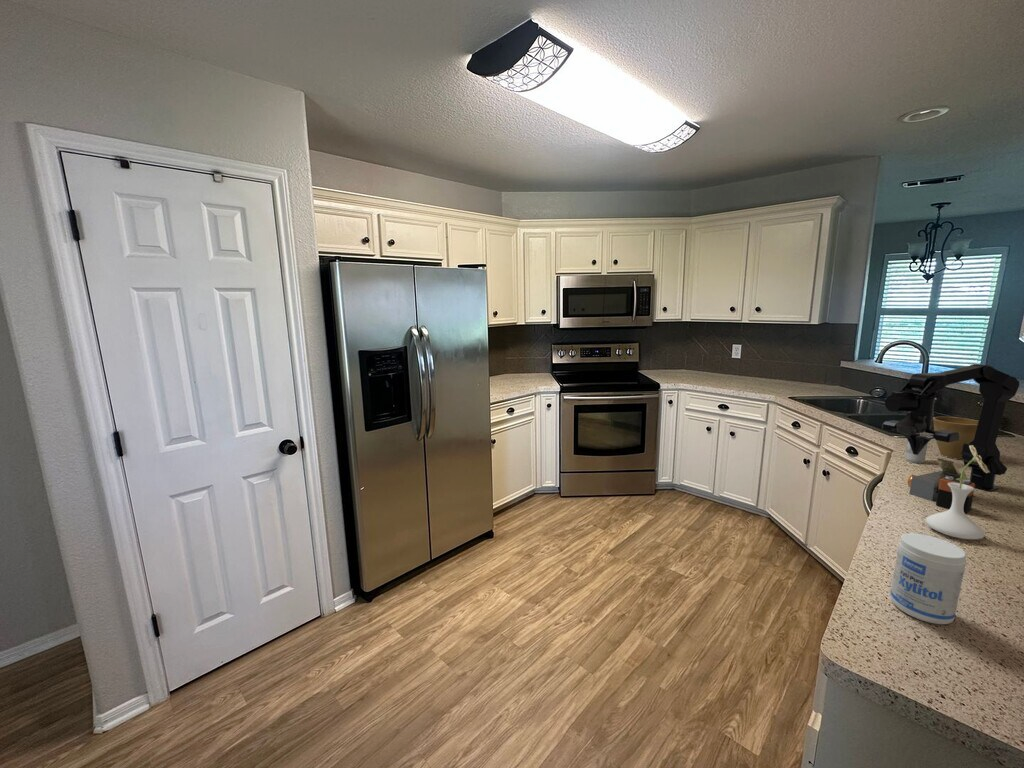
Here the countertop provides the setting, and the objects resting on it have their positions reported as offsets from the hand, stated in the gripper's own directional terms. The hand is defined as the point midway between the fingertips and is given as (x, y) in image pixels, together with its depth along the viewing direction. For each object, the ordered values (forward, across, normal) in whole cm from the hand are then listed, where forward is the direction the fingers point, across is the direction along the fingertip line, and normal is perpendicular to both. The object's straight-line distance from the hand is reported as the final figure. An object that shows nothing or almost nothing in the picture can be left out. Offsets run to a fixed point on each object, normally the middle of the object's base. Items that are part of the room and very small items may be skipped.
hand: (915, 454), depth 143 cm
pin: (+11, +9, -4) cm, 14 cm away
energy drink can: (+13, -16, +33) cm, 39 cm away
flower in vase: (+12, +23, -26) cm, 37 cm away
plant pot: (+14, -15, +55) cm, 58 cm away
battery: (+12, +14, -7) cm, 20 cm away
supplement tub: (+11, +40, -72) cm, 83 cm away
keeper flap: (+4, +6, +6) cm, 10 cm away
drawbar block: (+12, +6, +1) cm, 14 cm away
